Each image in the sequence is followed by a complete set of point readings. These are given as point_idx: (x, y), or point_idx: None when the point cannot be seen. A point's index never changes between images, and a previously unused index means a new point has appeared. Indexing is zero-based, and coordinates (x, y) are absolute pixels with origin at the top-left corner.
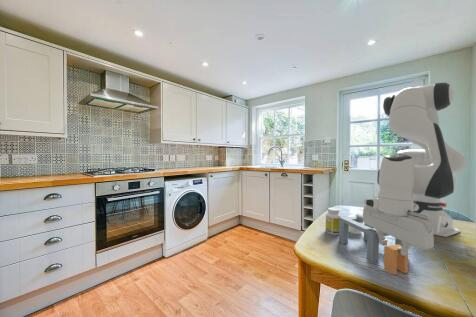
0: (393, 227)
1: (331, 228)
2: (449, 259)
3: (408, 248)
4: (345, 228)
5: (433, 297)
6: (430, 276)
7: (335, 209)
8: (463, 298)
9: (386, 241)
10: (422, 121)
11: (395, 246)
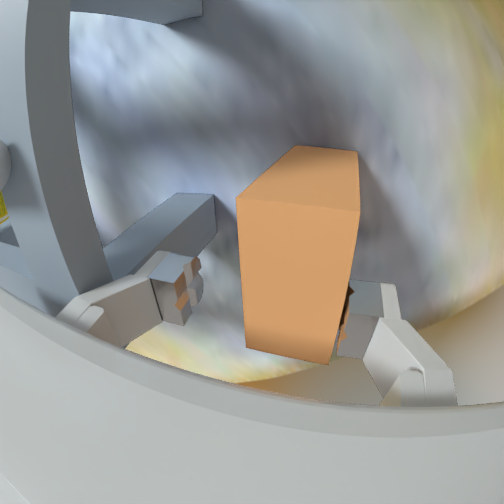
0: None
1: (7, 217)
2: None
3: (417, 336)
4: (15, 244)
5: (493, 253)
6: (415, 56)
7: None
8: None
9: (182, 282)
10: None
11: (275, 281)
